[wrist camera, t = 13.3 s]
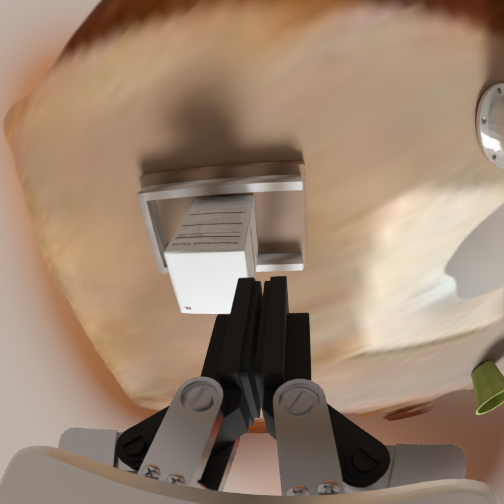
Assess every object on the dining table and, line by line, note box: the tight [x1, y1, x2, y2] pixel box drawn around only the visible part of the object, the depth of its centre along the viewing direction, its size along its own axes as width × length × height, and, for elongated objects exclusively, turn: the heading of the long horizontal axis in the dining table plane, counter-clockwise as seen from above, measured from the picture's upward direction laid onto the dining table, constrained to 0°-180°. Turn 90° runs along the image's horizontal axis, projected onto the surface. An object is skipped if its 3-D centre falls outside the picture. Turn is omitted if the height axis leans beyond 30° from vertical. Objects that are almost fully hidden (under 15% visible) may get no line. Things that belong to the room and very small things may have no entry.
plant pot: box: [472, 360, 504, 415], centre depth 51 cm, size 12×12×11 cm
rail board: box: [137, 161, 306, 274], centre depth 37 cm, size 20×14×4 cm
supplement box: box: [164, 195, 258, 314], centre depth 32 cm, size 7×7×13 cm
